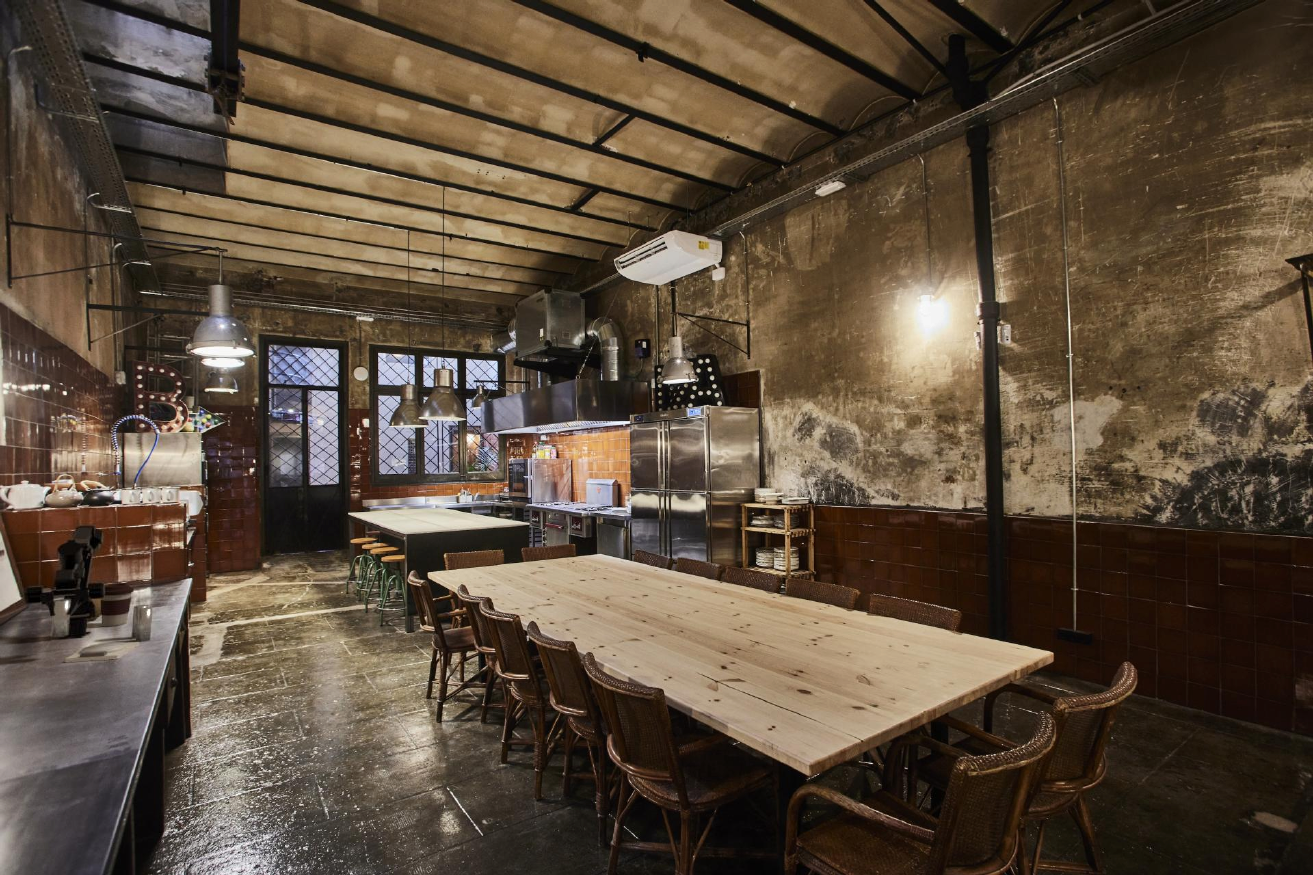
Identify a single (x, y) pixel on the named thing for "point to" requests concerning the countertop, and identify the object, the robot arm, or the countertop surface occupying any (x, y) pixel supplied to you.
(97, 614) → the natural sponge
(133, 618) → the spacer
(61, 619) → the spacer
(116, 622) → the coffee cup
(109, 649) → the scale
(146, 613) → the spacer
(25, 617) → the countertop surface
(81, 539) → the robot arm
